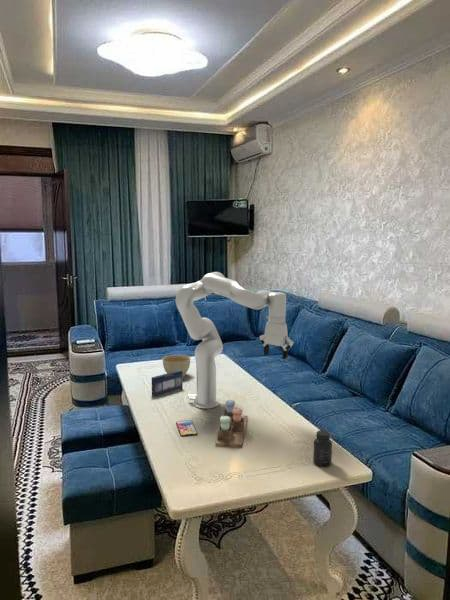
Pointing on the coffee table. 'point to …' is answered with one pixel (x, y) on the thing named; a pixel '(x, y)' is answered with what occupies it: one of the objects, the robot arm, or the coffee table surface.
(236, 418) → the button terracotta
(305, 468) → the coffee table surface
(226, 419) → the button sage
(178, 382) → the vhs cassette tape
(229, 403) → the button slate
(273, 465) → the coffee table surface
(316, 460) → the supplement bottle
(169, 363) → the planter bowl
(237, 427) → the button board
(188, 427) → the smartphone
